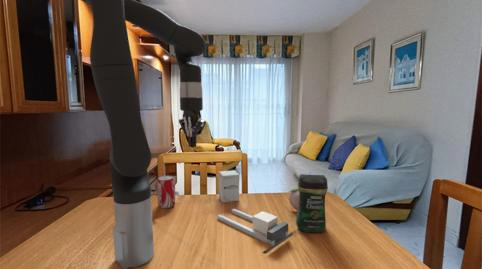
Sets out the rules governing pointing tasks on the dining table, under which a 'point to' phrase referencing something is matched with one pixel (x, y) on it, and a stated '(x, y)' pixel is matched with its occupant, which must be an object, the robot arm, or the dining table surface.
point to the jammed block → (264, 222)
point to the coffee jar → (312, 203)
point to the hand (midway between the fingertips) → (192, 146)
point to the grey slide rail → (273, 235)
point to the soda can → (166, 191)
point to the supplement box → (228, 186)
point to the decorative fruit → (294, 198)
